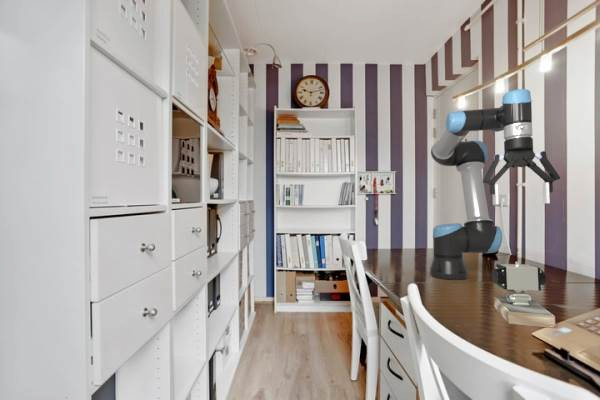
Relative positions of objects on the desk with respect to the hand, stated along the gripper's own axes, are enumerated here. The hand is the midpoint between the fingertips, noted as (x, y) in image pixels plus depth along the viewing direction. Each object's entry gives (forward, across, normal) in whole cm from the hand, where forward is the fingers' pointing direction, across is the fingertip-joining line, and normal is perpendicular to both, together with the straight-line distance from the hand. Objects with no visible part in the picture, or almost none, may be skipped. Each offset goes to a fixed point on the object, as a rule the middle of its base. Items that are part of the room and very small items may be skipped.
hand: (520, 203), depth 95 cm
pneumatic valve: (+29, -6, -14) cm, 32 cm away
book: (+32, -5, -14) cm, 35 cm away
